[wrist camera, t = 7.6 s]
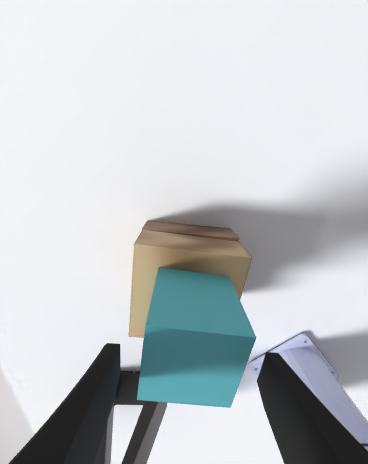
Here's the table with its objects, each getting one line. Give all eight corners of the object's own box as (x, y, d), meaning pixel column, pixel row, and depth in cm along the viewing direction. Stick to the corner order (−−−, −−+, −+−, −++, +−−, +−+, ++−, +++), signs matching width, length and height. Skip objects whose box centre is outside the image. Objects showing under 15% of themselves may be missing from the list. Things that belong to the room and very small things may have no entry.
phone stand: (169, 372, 24) (159, 553, 13) (167, 402, 26) (157, 583, 15) (98, 369, 24) (23, 554, 12) (101, 400, 26) (39, 585, 14)
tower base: (229, 227, 18) (238, 238, 16) (216, 295, 21) (222, 315, 18) (147, 219, 18) (141, 229, 15) (144, 289, 21) (139, 309, 18)
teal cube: (229, 276, 13) (256, 337, 8) (214, 330, 15) (230, 407, 10) (158, 267, 13) (145, 325, 8) (151, 323, 14) (136, 399, 10)
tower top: (238, 241, 16) (251, 257, 13) (219, 317, 18) (226, 344, 15) (142, 229, 15) (134, 243, 12) (136, 309, 18) (128, 336, 15)
